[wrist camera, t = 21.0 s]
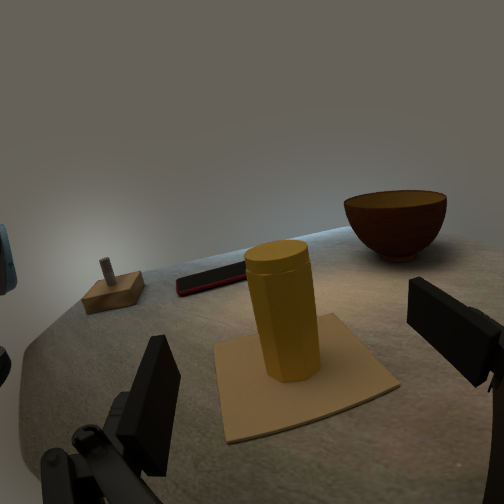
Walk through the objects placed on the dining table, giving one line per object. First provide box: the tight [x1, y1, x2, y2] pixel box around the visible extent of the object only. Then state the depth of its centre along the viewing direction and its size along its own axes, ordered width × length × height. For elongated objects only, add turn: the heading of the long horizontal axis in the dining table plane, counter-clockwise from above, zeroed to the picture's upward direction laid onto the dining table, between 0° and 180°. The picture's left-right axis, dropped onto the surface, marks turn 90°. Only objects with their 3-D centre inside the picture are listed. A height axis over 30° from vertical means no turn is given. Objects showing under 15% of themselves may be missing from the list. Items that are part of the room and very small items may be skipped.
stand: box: [81, 257, 145, 314], centre depth 50 cm, size 10×10×8 cm
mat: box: [213, 313, 400, 444], centre depth 25 cm, size 14×14×1 cm
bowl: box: [344, 190, 447, 262], centre depth 44 cm, size 18×18×10 cm
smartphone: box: [176, 261, 247, 295], centre depth 51 cm, size 7×1×15 cm
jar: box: [244, 240, 321, 383], centre depth 23 cm, size 5×5×11 cm
